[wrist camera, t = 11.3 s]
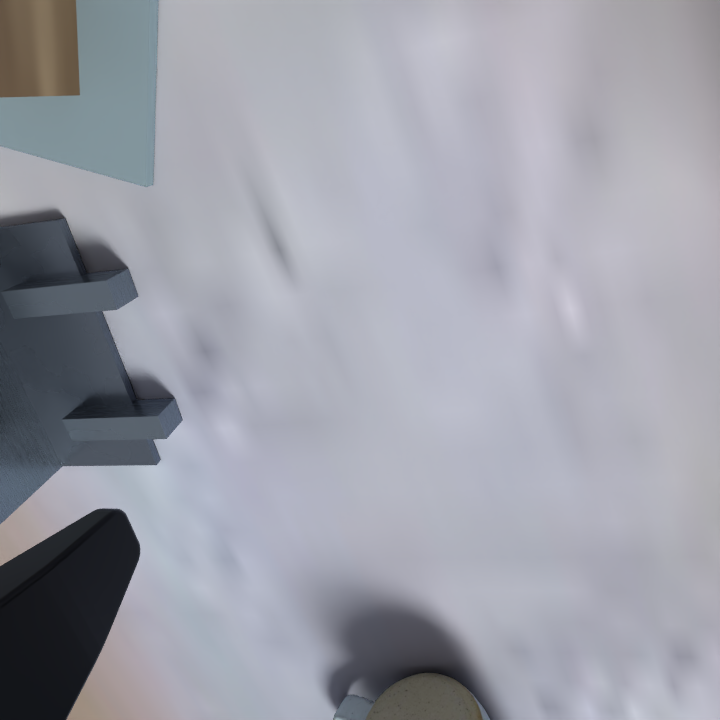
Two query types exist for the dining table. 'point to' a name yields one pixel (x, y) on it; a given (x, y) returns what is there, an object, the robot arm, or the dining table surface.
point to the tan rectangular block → (38, 48)
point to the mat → (98, 97)
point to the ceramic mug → (416, 701)
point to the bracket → (64, 366)
